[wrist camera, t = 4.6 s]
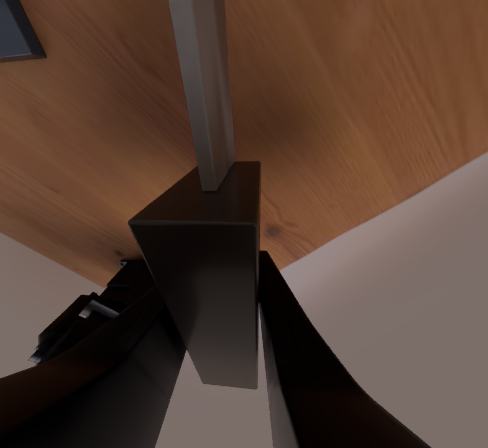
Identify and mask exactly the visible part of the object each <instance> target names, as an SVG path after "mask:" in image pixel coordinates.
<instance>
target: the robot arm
mask: <svg viewBox="0 0 488 448" xmlns="http://www.w3.org/2000/svg"><path fill="white" fill-rule="evenodd" d="M119 265H120V267H121V270H120V271H119V272H118V273H117V274H116V275H115V276H114V277H113V278H112V279H111V280H110V282H109V283H108V284H107V288H106V289H105V290H104V292H103V293H102V294H101V295H100V296H98V295H97V293H95V292H92V293H91V294H90V295H80V296H79V297H78V298H77V299H76V300H75V301H74V303H72V304H71V305H70V306H69V307H68V308H67V309H66V310H65V311H64V312H63V313H62V314H61V315H60V316H59V317H58V318H57V319H55V321H53V322H52V323H51V324H50V325H49V326H48V327H47V328H46V329H45V330H44V331H43V332H42V333H41V334H40V335H39V336H38V338H39V339H38V346H37V347H36V348H35V350H36V352H35V353H34V354H33V355H32V356H31V357H30V358H29V359H28V360H29V361H32V362H35V363H37V364H36V365H35V366H34V367H31V368H28V369H26V370H23V371H20V372H17V373H14V374H12V375H9V376H6V377H3V378H0V448H155V445H156V442H157V439H158V436H159V433H160V430H161V427H162V424H163V421H164V418H165V415H166V411H167V408H168V405H169V402H170V399H171V396H172V393H173V390H174V387H175V384H176V380H177V377H178V374H179V371H180V368H181V365H182V362H183V359H184V356H185V353H186V350H187V349H186V347H185V344H184V342H183V340H182V338H181V336H180V334H179V332H178V330H177V327H176V325H175V323H174V321H173V319H172V317H171V315H170V312H169V310H168V308H167V306H166V304H165V302H164V300H163V298H162V295H161V293H160V291H159V289H158V287H157V285H156V283H155V281H154V278H153V276H152V274H151V272H150V270H149V268H148V266H147V264H146V261H145V260H121V261H120V262H119ZM259 310H260V319H261V330H262V340H263V349H264V359H265V369H266V379H267V389H268V399H269V409H270V419H271V428H272V438H273V448H431V447H430V446H429V445H428V444H426V443H425V442H424V441H423V440H422V439H420V438H419V437H418V436H417V435H416V434H414V433H413V432H412V431H411V430H409V429H408V428H407V427H406V426H405V425H403V424H402V423H401V422H400V421H399V420H397V419H396V418H395V417H394V416H392V415H391V414H390V413H389V412H387V411H386V410H385V409H384V408H383V407H382V406H380V405H379V404H378V403H377V402H376V401H374V400H373V399H372V398H371V397H370V396H369V395H368V394H367V393H366V392H365V391H364V390H363V389H362V388H361V387H360V386H359V385H358V383H357V382H356V381H355V380H354V379H353V378H352V376H351V375H350V374H349V372H348V371H347V370H346V368H345V367H344V366H343V364H342V363H341V362H340V361H339V359H338V358H337V357H336V355H335V354H334V353H333V352H332V350H331V349H330V347H329V346H328V345H327V344H326V342H325V341H324V340H323V338H322V337H321V336H320V334H319V333H318V331H317V330H316V329H315V327H314V326H313V325H312V323H311V322H310V320H309V318H308V317H307V315H306V314H305V312H304V311H303V309H302V307H301V306H300V305H299V303H298V301H297V300H296V298H295V297H294V294H293V293H292V291H291V290H290V288H289V286H288V285H287V283H286V281H285V280H284V278H283V277H282V275H281V273H280V271H279V270H278V268H277V267H276V265H275V263H274V262H273V260H272V258H271V257H270V255H269V253H268V252H267V251H260V258H259ZM79 314H82V315H85V316H87V317H86V318H83V317H81V316H79Z"/></svg>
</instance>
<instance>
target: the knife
mask: <svg viewBox="0 0 488 448" xmlns="http://www.w3.org/2000/svg"><path fill="white" fill-rule="evenodd" d="M168 1H169V6H170V12H171V18H172V23H173V29H174V34H175V40H176V46H177V51H178V57H179V62H180V68H181V74H182V79H183V85H184V91H185V96H186V102H187V107H188V113H189V119H190V124H191V130H192V136H193V141H194V147H195V152H196V158H197V164H198V166H197V167H195V168H194V169H193V170H192V171H190V172H189V173H188V174H187V175H185V176H184V177H183V178H182V179H180V180H179V181H178V182H177V183H175V184H174V185H173V186H172V187H170V188H169V189H168V190H167V191H165V192H164V193H163V194H161V195H160V196H159V197H158V198H156V199H155V200H154V201H153V202H151V203H150V204H149V205H148V206H146V207H145V208H144V209H143V210H141V211H140V212H139V213H138V214H136V215H135V216H134V217H133V218H131V219H130V220H129V221H128V225H129V227H130V229H131V232H132V234H133V236H134V238H135V240H136V242H137V244H138V247H139V249H140V251H141V253H142V255H143V257H144V259H145V261H146V264H147V266H148V268H149V270H150V272H151V274H152V276H153V278H154V281H155V283H156V285H157V287H158V289H159V291H160V293H161V295H162V298H163V300H164V302H165V304H166V306H167V308H168V310H169V312H170V315H171V317H172V319H173V321H174V323H175V325H176V327H177V330H178V332H179V334H180V336H181V338H182V340H183V342H184V344H185V347H186V349H187V351H188V353H189V355H190V357H191V359H192V361H193V364H194V366H195V368H196V370H197V372H198V374H199V376H200V378H201V381H202V383H204V384H211V385H220V386H229V387H239V388H248V389H257V387H258V385H257V384H258V338H259V335H258V334H259V258H260V196H261V162H260V161H239V162H234V161H235V154H234V139H233V124H232V108H231V93H230V78H229V63H228V47H227V32H226V17H225V2H224V0H168Z"/></svg>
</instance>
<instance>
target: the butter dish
mask: <svg viewBox="0 0 488 448" xmlns="http://www.w3.org/2000/svg"><path fill="white" fill-rule="evenodd" d="M39 58H46V55H45V53H44V51H43V49H42V47H41V45H40V43H39V41H38V39H37V37H36V35H35V33H34V31H33V29H32V27H31V25H30V23H29V21H28V18H27V16H26V14H25V12H24V10H23V8H22V6H21V4H20V2H19V0H0V63H3V62H12V61H21V60H30V59H39Z"/></svg>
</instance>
